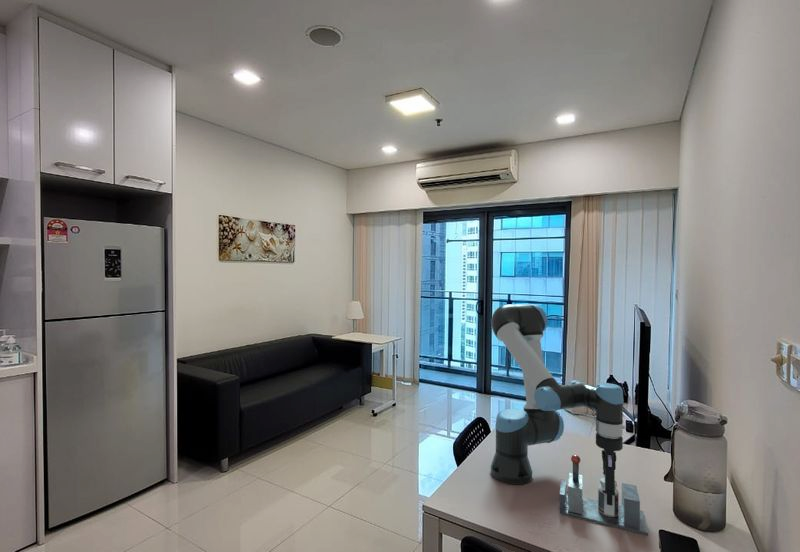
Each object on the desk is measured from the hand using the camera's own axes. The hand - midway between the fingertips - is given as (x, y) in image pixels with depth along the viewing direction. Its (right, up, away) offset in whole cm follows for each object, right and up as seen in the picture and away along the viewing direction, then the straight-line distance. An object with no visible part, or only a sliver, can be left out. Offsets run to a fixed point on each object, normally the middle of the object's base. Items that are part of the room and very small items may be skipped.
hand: (608, 505), depth 126 cm
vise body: (-2, -3, +1) cm, 4 cm away
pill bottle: (0, -3, 0) cm, 3 cm away
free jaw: (-9, -2, +4) cm, 10 cm away
